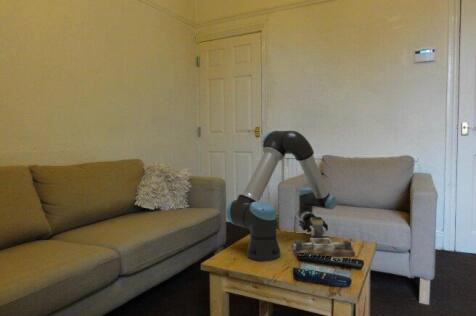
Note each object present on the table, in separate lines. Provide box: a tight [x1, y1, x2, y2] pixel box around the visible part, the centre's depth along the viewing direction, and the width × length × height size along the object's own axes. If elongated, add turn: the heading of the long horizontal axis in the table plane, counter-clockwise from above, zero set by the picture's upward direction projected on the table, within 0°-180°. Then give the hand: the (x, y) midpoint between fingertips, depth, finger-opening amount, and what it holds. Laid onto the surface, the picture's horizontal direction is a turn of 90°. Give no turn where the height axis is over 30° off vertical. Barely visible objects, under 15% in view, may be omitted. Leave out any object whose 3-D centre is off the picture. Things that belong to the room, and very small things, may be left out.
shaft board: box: [291, 237, 356, 258], centre depth 155 cm, size 27×12×5 cm, turn 89°
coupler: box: [310, 216, 324, 238], centre depth 166 cm, size 5×5×13 cm
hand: (319, 232), depth 161 cm, fingers closed on coupler, 5 cm apart
